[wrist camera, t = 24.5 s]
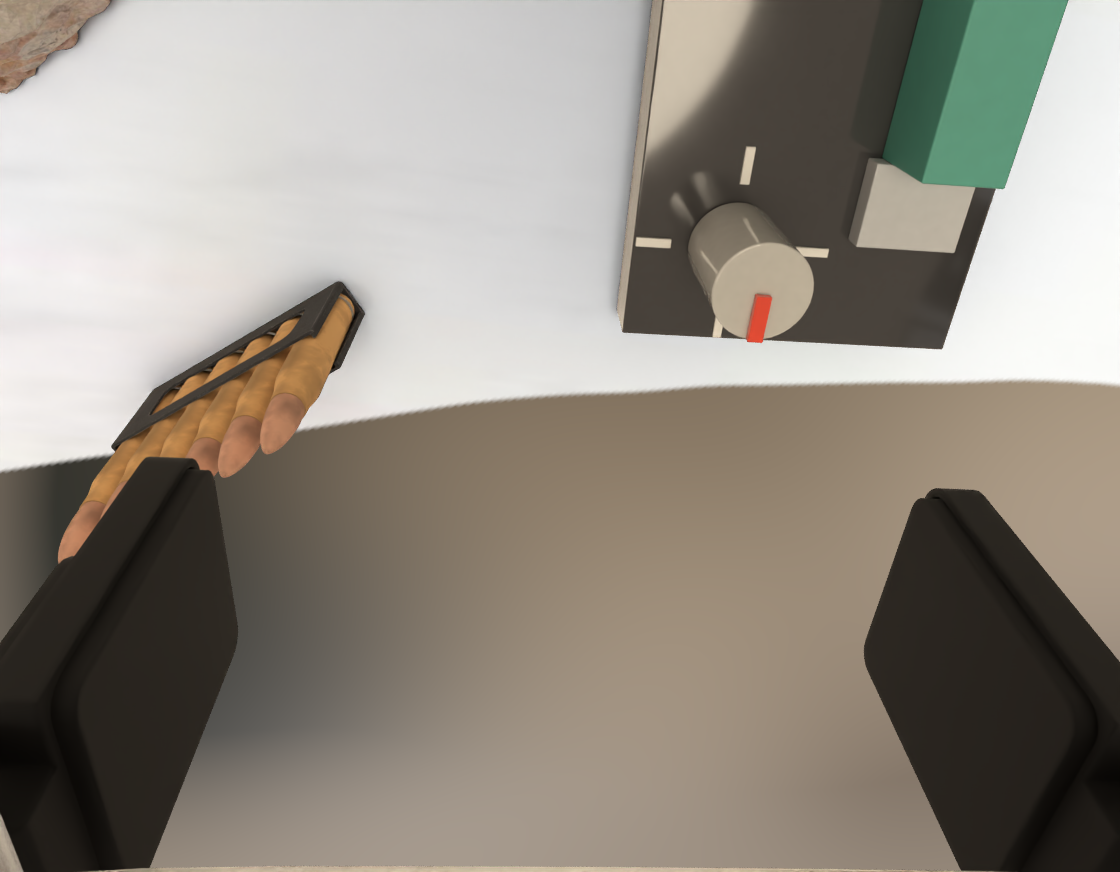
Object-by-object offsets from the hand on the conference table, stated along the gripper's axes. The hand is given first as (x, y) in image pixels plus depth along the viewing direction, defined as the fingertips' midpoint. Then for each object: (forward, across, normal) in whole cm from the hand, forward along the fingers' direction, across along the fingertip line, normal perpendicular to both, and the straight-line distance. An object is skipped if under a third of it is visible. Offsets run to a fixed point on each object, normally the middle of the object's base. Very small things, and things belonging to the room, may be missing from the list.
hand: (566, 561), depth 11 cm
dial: (+24, -8, +3) cm, 25 cm away
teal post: (+24, -15, -4) cm, 28 cm away
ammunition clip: (+26, +12, +10) cm, 31 cm away
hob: (+26, -11, -2) cm, 29 cm away
